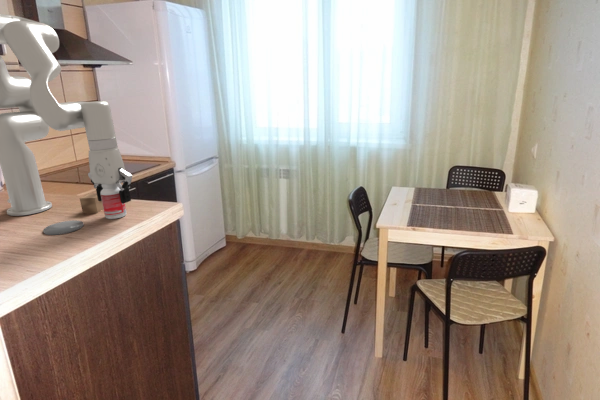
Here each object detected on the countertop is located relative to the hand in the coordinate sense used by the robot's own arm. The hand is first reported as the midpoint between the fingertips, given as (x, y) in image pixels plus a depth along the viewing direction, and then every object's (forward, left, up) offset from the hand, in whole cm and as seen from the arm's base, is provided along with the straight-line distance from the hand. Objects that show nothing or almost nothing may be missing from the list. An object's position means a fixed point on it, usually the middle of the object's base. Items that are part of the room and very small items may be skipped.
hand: (114, 201), depth 122 cm
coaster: (-7, -13, -5) cm, 15 cm away
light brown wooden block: (-13, +2, -5) cm, 14 cm away
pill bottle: (-1, 0, -5) cm, 5 cm away
